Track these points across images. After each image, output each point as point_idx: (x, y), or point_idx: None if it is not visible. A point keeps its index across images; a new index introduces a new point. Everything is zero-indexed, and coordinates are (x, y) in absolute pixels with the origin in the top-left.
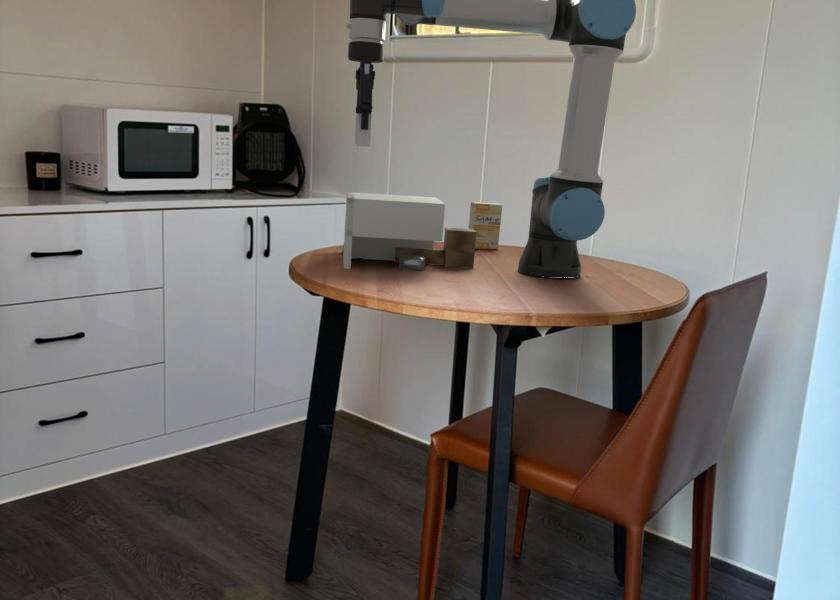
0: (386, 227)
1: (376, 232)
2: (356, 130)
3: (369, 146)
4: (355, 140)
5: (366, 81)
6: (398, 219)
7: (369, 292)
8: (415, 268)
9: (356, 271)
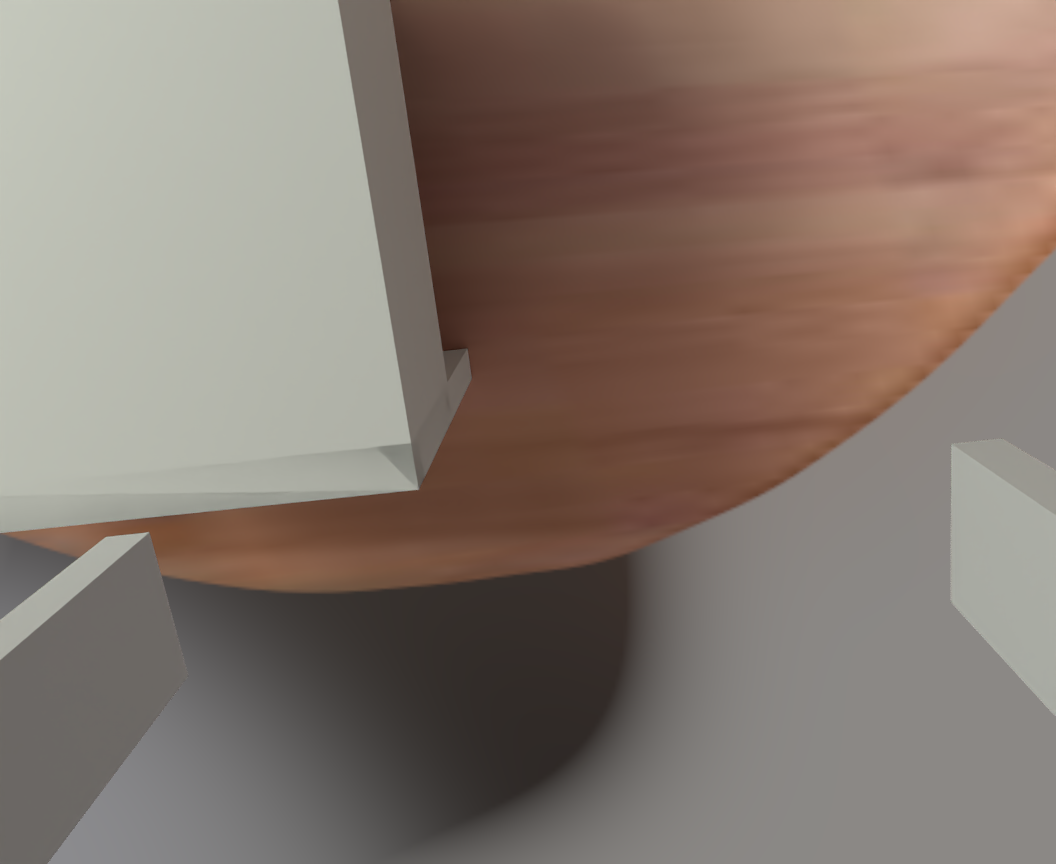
0: (407, 184)
1: (420, 246)
2: (96, 778)
3: (1004, 445)
4: (164, 696)
5: None
6: (383, 99)
7: (995, 213)
8: None
9: (514, 315)
